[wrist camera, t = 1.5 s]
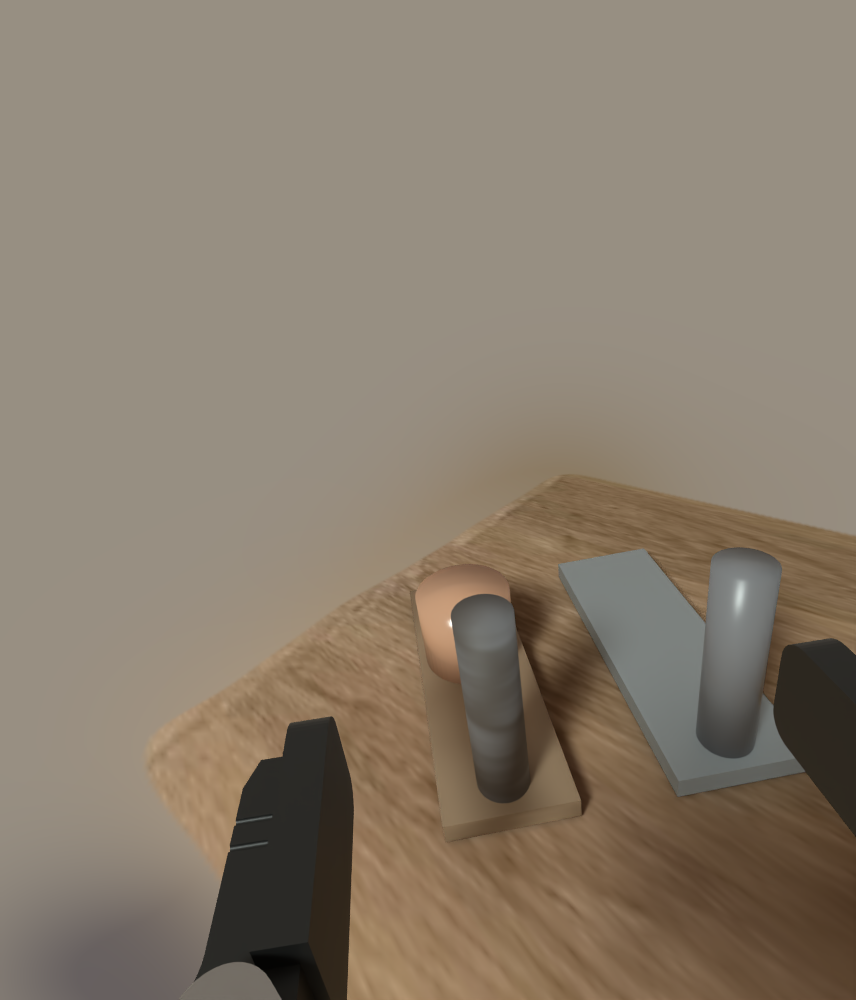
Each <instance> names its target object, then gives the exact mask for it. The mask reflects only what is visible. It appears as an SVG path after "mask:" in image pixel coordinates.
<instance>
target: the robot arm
mask: <svg viewBox="0 0 856 1000" xmlns="http://www.w3.org/2000/svg"><path fill="white" fill-rule="evenodd" d="M773 715H774V721H775V725H776V728H777V730H778V733H779V735H780V737H781V739H782V741H783V742H784V744H785V745H786V747H787V748H788V750H789V751H790V752H791V753H792V755H793V756H794V757H795V759H796V760H797V761H798V763H799V764H800V765H801V766H802V768H803V769H804V770H805V772H806V773H807V774H808V776H809V777H810V778H811V779H812V781H813V782H814V783H815V785H816V786H817V787H818V788H819V790H820V791H821V792H822V794H823V795H824V796H825V798H826V799H827V800H828V801H829V803H830V804H831V805H832V807H833V808H834V809H835V811H836V812H837V813H838V814H839V816H840V817H841V818H842V820H843V821H844V822H845V824H846V825H847V826H848V827H849V829H850V830H851V831H852V833H853V834H854V835H855V837H856V655H855V654H854V653H853V652H852V651H851V650H850V649H849V648H847V647H846V646H845V645H844V644H843V643H842V642H840V641H838V640H836V639H832V638H830V639H823V640H817V641H811V642H805V643H798V644H792V645H788V646H786V647H785V648H784V650H783V652H782V657H781V663H780V669H779V675H778V682H777V688H776V694H775V700H774V707H773ZM353 818H354V804H353V791H352V783H351V778H350V773H349V770H348V766H347V762H346V759H345V755H344V751H343V748H342V744H341V741H340V737H339V733H338V730H337V726H336V723H335V720H334V718H333V717H325V718H319V719H313V720H306V721H300V722H294V723H290V724H289V726H288V729H287V734H286V739H285V745H284V751H283V757H278V758H272V759H265V760H261V761H260V763H259V764H258V766H257V768H256V769H255V771H254V772H253V774H252V775H251V777H250V778H249V780H248V782H247V783H246V785H245V786H244V788H243V791H242V795H241V799H240V804H239V808H238V812H237V817H236V826H234V830H233V834H232V838H231V843H230V852H228V855H227V860H226V864H225V868H224V873H223V877H222V881H221V886H220V890H219V894H218V899H217V903H216V907H215V912H214V916H213V921H212V925H211V929H210V934H209V938H208V942H207V946H206V951H205V955H204V958H203V962H202V965H201V967H200V970H199V972H198V975H197V977H196V979H195V981H194V982H193V984H192V985H191V986H190V987H189V988H188V989H187V990H186V991H185V992H184V993H183V995H182V996H181V997H180V998H179V999H178V1000H347V980H348V953H349V926H350V899H351V872H352V845H353Z"/></svg>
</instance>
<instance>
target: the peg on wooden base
mask: <svg viewBox="0 0 856 1000" xmlns="http://www.w3.org/2000/svg"><path fill="white" fill-rule="evenodd" d="M416 591H417V590H414V591H410V596H411V604H412V611H413V618H414V625H415V633H416V640H417V647H418V654H419V661H420V669H421V676H422V683H423V690H424V698H425V705H426V712H427V719H428V726H429V734H430V741H431V748H432V755H433V763H434V770H435V777H436V784H437V791H438V799H439V806H440V813H441V820H442V828H443V832H444V837H445V842H450V841H455V840H460V839H465V838H470V837H475V836H480V835H485V834H491V833H496V832H501V831H506V830H511V829H516V828H521V827H526V826H531V825H537V824H542V823H547V822H552V821H557V820H562V819H567V818H572V817H577V816H582V814H581V799H580V796H579V794H578V791H577V788H576V786H575V783H574V780H573V778H572V775H571V772H570V770H569V767H568V764H567V762H566V759H565V756H564V754H563V751H562V748H561V746H560V743H559V740H558V738H557V735H556V732H555V730H554V727H553V724H552V722H551V719H550V716H549V714H548V711H547V708H546V706H545V703H544V700H543V698H542V695H541V692H540V690H539V687H538V684H537V682H536V679H535V676H534V674H533V671H532V668H531V666H530V663H529V660H528V658H527V655H526V652H525V650H524V647H523V644H522V642H521V639H520V636H519V634H518V631H517V628H516V625H515V615H514V608H513V606H512V604H511V603H510V602H509V601H508V600H507V599H505V598H503V597H501V596H498V595H494V594H477V595H473V596H469V597H467V598H465V599H463V600H461V601H460V602H458V603H457V604H456V605H455V606H454V608H453V609H452V612H451V622H452V629H453V635H454V641H455V648H456V654H457V660H458V667H459V673H460V679H461V684H458V683H453V682H449V681H446V680H444V679H442V678H440V677H439V676H437V675H436V674H435V673H434V672H433V671H432V670H431V668H430V667H429V665H428V662H427V658H426V653H425V647H424V642H423V637H422V632H421V626H420V621H419V616H418V610H417V605H416V600H415V595H416Z"/></svg>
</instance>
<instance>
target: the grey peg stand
mask: <svg viewBox="0 0 856 1000" xmlns="http://www.w3.org/2000/svg"><path fill="white" fill-rule="evenodd" d="M558 568H559V578H560V579H561V581H562V583H563V585H564V587H565V589H566V591H567V592H568V594H569V596H570V598H571V600H572V602H573V604H574V605H575V607H576V609H577V611H578V613H579V615H580V617H581V618H582V620H583V622H584V624H585V626H586V628H587V630H588V631H589V633H590V635H591V637H592V639H593V641H594V643H595V644H596V646H597V648H598V650H599V652H600V654H601V656H602V657H603V659H604V661H605V663H606V665H607V667H608V669H609V671H610V672H611V674H612V676H613V678H614V680H615V682H616V684H617V685H618V687H619V689H620V691H621V693H622V695H623V697H624V698H625V700H626V702H627V704H628V706H629V708H630V710H631V711H632V713H633V715H634V717H635V719H636V721H637V723H638V724H639V726H640V728H641V730H642V732H643V734H644V736H645V737H646V739H647V741H648V743H649V745H650V747H651V749H652V750H653V752H654V754H655V756H656V758H657V760H658V762H659V763H660V765H661V767H662V769H663V771H664V773H665V775H666V776H667V778H668V780H669V782H670V784H671V786H672V788H673V789H674V791H675V793H676V795H677V797H679V796H684V795H690V794H695V793H700V792H705V791H710V790H715V789H720V788H725V787H730V786H735V785H741V784H746V783H751V782H756V781H761V780H766V779H771V778H776V777H781V776H787V775H792V774H797V773H802V772H805V770H804V769H803V768H802V766H801V765H800V764H799V763H798V761H797V760H796V759H795V757H794V756H793V755H792V753H791V752H790V751H789V750H788V748H787V747H786V745H785V744H784V742H783V741H782V739H781V737H780V735H779V733H778V730H777V728H776V725H775V721H774V715H773V707H774V706H773V705H772V704H771V702H770V701H769V700H768V699H767V697H766V696H765V695H764V694H763V687H764V681H765V675H766V668H767V662H768V656H769V649H770V643H771V637H772V630H773V624H774V618H775V611H776V605H777V599H778V592H779V586H780V579H781V573H782V567H781V564H780V563H779V562H778V561H777V560H776V559H775V558H774V557H772V556H771V555H769V554H767V553H765V552H762V551H759V550H755V549H750V548H728V549H724V550H721V551H719V552H717V553H716V554H715V555H714V556H713V557H712V560H711V569H710V580H709V591H708V602H707V613H706V623H705V622H704V621H703V620H702V619H701V617H700V616H699V615H698V614H697V612H696V611H695V610H694V609H693V608H692V606H691V605H690V604H689V603H688V602H687V600H686V599H685V598H684V597H683V596H682V594H681V593H680V592H679V591H678V589H677V588H676V587H675V586H674V585H673V583H672V582H671V581H670V580H669V579H668V577H667V576H666V575H665V574H664V572H663V571H662V570H661V569H660V568H659V566H658V565H657V564H656V563H655V562H654V560H653V559H652V558H651V557H650V555H649V554H648V553H647V552H646V551H645V549H639V550H633V551H628V552H623V553H617V554H612V555H606V556H601V557H595V558H590V559H584V560H579V561H573V562H568V563H562V564H558Z"/></svg>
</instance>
